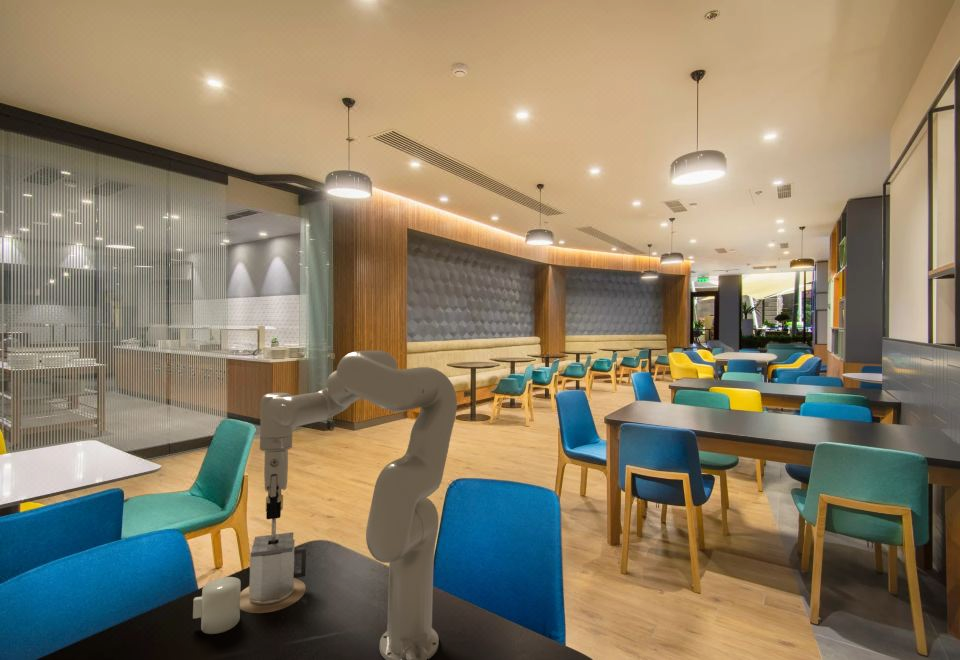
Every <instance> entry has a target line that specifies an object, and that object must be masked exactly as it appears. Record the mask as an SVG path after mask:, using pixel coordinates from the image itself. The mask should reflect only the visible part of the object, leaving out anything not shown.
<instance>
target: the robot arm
mask: <svg viewBox="0 0 960 660" xmlns="http://www.w3.org/2000/svg"><path fill="white" fill-rule="evenodd" d="M457 398H458V397H457V393H456V390H455V387H454V385H453V383H452V382H451V380H450V378H448V376H447V375H446V374H444V373H443V372H442V371H440V370H438V369H437V368H432V367H429V366H428V367H426V366H425V367H424V366H423V367H422V366H421V367H420V366H418V367H412V368H404V369H399V368H398V362H397V360H396V358H395V357H394V356H393V355H392V354H390V353H389V352H386V351H384V350H376V349H375V350H374V349H373V350H357V351H352V352H349V353H347V354H346V355H344V356H343V357H342V358H341V359H340V360H339V362H338V364H337V367H336V370H334V371H333V372H331V373H330V374H329V376H328V377H327V379H326V387H325V388H324V389H321V390H319V391H316V392H310V393H302V394H296V395H292V394H290V393H288V392H270V393H266V394H264V395H263V396H262V397H261V399H260V421H259V422H260V423H259V424H260V426H259V427H260V428H259V430H260V431H259V434H260V435H259V450H260V451H262V452H264V464H263V465H264V471H263V472H264V491H265V492H266V493H267V496H268V502H267V512H266V514H265V515H266V517H265V518H266V520H272V519H276V520H277V519H280V518H281V512H282V510H281V501H280V494H281V495H282V490H283V491H285V490H286V489H287V488H288V487H287V486H288V471H289V470H288V467H289V466H288V465H289V450H290V449H291V448H293V431H294V430H293V428H297V427H301V426H304V425H309V424H313V423H319V422H322V421H325V420H328V419H330V418H332V417H333V416H336V415H338V414H340V413H341V412H344V411H345V410H347V409H348V408H349V407H350V406H351V404H353V403H356V402H357V401H359V400H361V399H363V400H364V401H366V402H369V403H370V404H374V405H375V406H378V407H379V408H381V409H384V410H386V411H389V412H393V413H394V412H395V413H402V412H407V411H410V410H414V409H415V410H416V409H418V408H419V409H420V410H419V412H418V416H417V417H416V420H415V421H414V423H413V426H412V428H411V431H410V436H409V437H410V438H409V442H408V444H407V448H406V452H405V454H404V455H402V456H401V457H398V458H397V459H395V460H392V461H391V462H389V463H388V464H386V466H384V467H383V469H382V470H381V471H380V473H379V475H378V476H377V479H376V481H375V485H374V489H373V493H372V498H371V499H372V500H371V504H370V508H369V513H368V518H367V521H366V522H367V523H366V529H365V540H366V541H365V542H366V546H367V549H368V551H369V553H370V555H371V556H372V557H373V559H375V560H377V561H378V562H380V563H383V564H384V563H386V564H388V596H387V628H386V629H387V630H386V631H385V632H384V633H383V634H382V636H381V637H380V640H379V652H380V655H381V656H382V657H383V659H384V660H427V659H428V660H430V659H431V658H432V657H433V656H434V655H435V654H436V653H437V652H438V648H439V644H440V643H439V639H440V637H439V635H438V633H437V631H436V630H435V629H434V627H433V600H434V599H433V592H434V588H433V587H434V567H435V565H434V563H435V562H434V560H435V559H434V558H435V548H436V542H437V536H438V530H439V511H438V510H437V507H436V506H435V503H434V502H433V501H432V500H431V499H429V498H428V497H430V496H431V495H432V494H434V493H435V492H436V491H437V490H438V489H439V488H440V486H441V483H442V480H443V476H444V473H445V467H446V466H445V465H446V462H447V457H448V452H449V448H450V441H451V438H452V433H453V429H454V425H455V421H456V417H457V410H458V399H457Z"/></svg>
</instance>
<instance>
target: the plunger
mask: <svg viewBox="0 0 960 660" xmlns="http://www.w3.org/2000/svg"><path fill="white" fill-rule="evenodd" d="M280 501H281V511H283V509H284V495H283V494H282V493H281V494H280ZM267 502H268V495H267V496H266V497H265V512H266V513H267ZM276 534H277V518H276V519H271V534H270V535H271V544H275V542H276Z"/></svg>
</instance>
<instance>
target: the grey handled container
mask: <svg viewBox="0 0 960 660" xmlns="http://www.w3.org/2000/svg"><path fill="white" fill-rule="evenodd" d="M295 542H296V540H295V539H294V531H292V532H285V533H276V542H275V544H271V534H266V535H260V536H259V535H258V536H254V540H253V544H252V545H251V548H250V549H251V550H250V553H249V554H250V556H249V583H248V584H249V585H248V587H249V601H250V602H251V603H252V604H254V605H258V606H268V605H274V604H277V603H280V602H283V601H285V600H286V599H288V598H289V597H290V596H291V595H292V594H293V592H294V584H293V583H294V578H296V579H298V578H304V577H306V559H307V545H305V546H299V547H298V546H297V547H295V546H296V545H295ZM295 555H301V563H300V564H301V565H300V567H301V568H300V569H298V570H295Z"/></svg>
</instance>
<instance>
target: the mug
mask: <svg viewBox="0 0 960 660" xmlns="http://www.w3.org/2000/svg"><path fill="white" fill-rule="evenodd" d="M241 582H242V581H241V579H240V578H238V577H236V576H235V577H234V576H226V577H220V578H216V579H214V580H211V581H209V582H207V583H206V584H205V585H204V586H203V588H202V590H201V591H202V593H201V596H196V597H194V598H193V602H192V603H193V607H192V610H193V611H192V619H199V618H200V619H201V622H200V623H201V624H200V630H201V631H202V633H204V634H207V635H214V634H215V635H216V634H220V633H225V632H227V631H230V630H231V629H233V628H234V627H236V625H238V623H239V622H240V619H241V617H240V615H241V613H240V612H241V609H240V593H241V589H242V587H241V586H242V585H241Z"/></svg>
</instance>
